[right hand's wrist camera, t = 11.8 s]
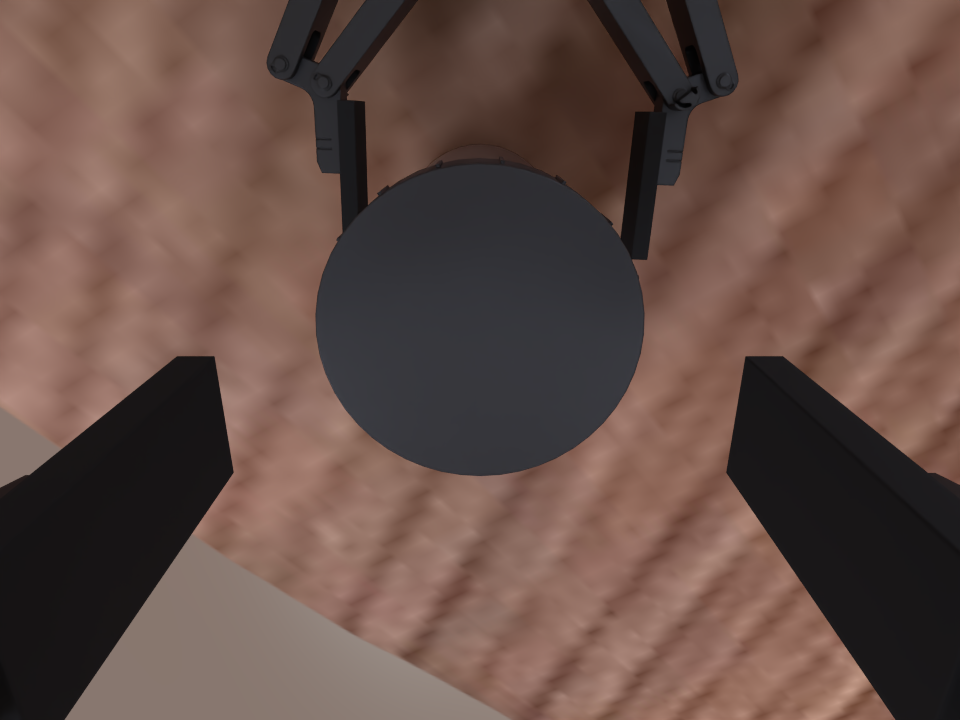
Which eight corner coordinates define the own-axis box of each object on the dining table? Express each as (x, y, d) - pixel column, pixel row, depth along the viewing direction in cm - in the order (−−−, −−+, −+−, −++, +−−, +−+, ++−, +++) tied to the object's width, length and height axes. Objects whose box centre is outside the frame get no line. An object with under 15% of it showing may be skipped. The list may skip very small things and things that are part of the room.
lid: (336, 134, 18) (318, 137, 16) (661, 177, 18) (683, 185, 16) (324, 426, 21) (308, 458, 19) (598, 457, 22) (610, 492, 20)
